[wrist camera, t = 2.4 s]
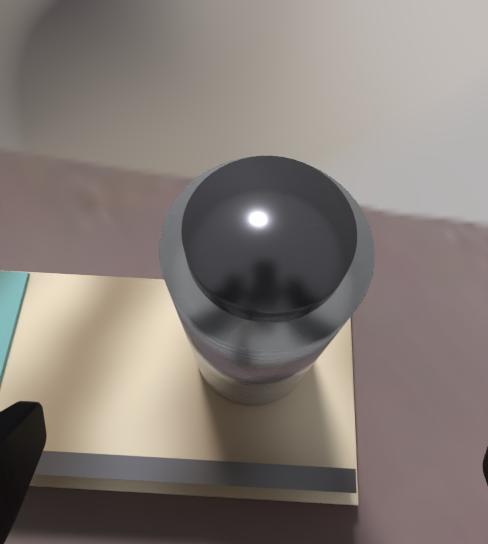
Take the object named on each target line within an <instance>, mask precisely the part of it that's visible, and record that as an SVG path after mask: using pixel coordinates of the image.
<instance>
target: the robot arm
mask: <svg viewBox="0 0 488 544" xmlns="http://www.w3.org/2000/svg"><path fill="white" fill-rule="evenodd" d="M46 439H47V432H46V425H45V419H44V412H43V407H42V405H41V403H39V402H36V401H18V402H16V403H14V404H12V405H11V406H9V407H7V408H6V409H4V410H2V411H0V544H4V542H5V540H6V538H7V536H8V534H9V532H10V530H11V528H12V526H13V524H14V522H15V520H16V518H17V515H18V513H19V511H20V508H21V506H22V503H23V501H24V498H25V496H26V493H27V490H28V488H29V485H30V483H31V480H32V478H33V475H34V473H35V470H36V468H37V465H38V463H39V460H40V458H41V455H42V452H43V450H44V447H45V444H46ZM483 473H484V476H485V479H486V482H487V485H488V447H487V450H486V453H485V456H484V459H483Z"/></svg>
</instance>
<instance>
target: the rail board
mask: <svg viewBox="0 0 488 544" xmlns="http://www.w3.org/2000/svg"><path fill="white" fill-rule="evenodd" d="M18 401H36V402H39V403H41V405H42V407H43V412H44V419H45V425H46V432H47V439H46V444H45V447H44V450H43V452H42V455H41V458H40V460H39V463H38V465H37V468H36V470H35V473H34V475H33V478H32V480H31V483H30V485H29V486H40V487H57V488H74V489H90V490H107V491H124V492H141V493H158V494H175V495H192V496H209V497H226V498H243V499H260V500H277V501H294V502H311V503H328V504H345V505H358V483H357V459H356V436H355V412H354V389H353V366H352V342H351V319H350V318H349V320H348V321H347V322H346V323H345V325H344V326H343V327H342V329H341V330H340V331H339V332H338V334H337V335H336V336H335V337H334V339H333V340H332V341H331V342H330V344H329V345H328V346H327V347H326V349H325V350H324V351H323V352H322V354H321V355H320V356H319V358H318V359H317V360H316V361H315V363H314V364H313V365H312V366H311V368H310V369H309V370H308V371H307V373H306V374H305V375H304V376H303V378H302V379H301V380H300V381H299V383H298V384H297V385H296V386H295V387H294V388H293V390H292V391H291V392H289V393H288V394H287V395H286V396H284V397H282V398H281V399H279V400H277V401H275V402H273V403H269V404H266V405H260V406H246V405H240V404H236V403H233V402H231V401H228V400H226V399H225V398H223V397H221V396H220V395H219V394H217V393H216V392H215V391H214V390H213V389H212V388H211V387H210V386H209V385H208V384H207V382H206V381H205V379H204V378H203V376H202V374H201V372H200V369H199V367H198V364H197V362H196V359H195V357H194V354H193V352H192V349H191V347H190V344H189V341H188V339H187V336H186V334H185V331H184V329H183V326H182V324H181V321H180V319H179V316H178V314H177V311H176V309H175V306H174V304H173V301H172V298H171V296H170V293H169V291H168V288H167V286H166V283H165V281H164V280H161V279H143V278H125V277H107V276H90V275H72V274H54V273H36V272H18V271H0V411H2V410H4V409H6V408H7V407H9V406H11V405H12V404H14V403H16V402H18Z"/></svg>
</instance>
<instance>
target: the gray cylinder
mask: <svg viewBox="0 0 488 544" xmlns="http://www.w3.org/2000/svg"><path fill="white" fill-rule="evenodd" d="M159 256H160V266H161V270H162V275H163V278H164V281H165V283H166V286H167V288H168V291H169V293H170V296H171V298H172V301H173V304H174V306H175V309H176V311H177V314H178V316H179V319H180V321H181V324H182V326H183V329H184V331H185V334H186V336H187V339H188V341H189V344H190V347H191V349H192V352H193V354H194V357H195V359H196V362H197V364H198V367H199V369H200V372H201V374H202V376H203V378H204V379H205V381H206V382H207V384H208V385H209V386H210V387H211V388H212V389H213V390H214V391H215V392H216V393H217V394H219V395H220V396H221V397H223V398H225V399H226V400H228V401H231V402H233V403H236V404H240V405H246V406H260V405H266V404H269V403H273V402H275V401H277V400H279V399H281V398H282V397H284V396H286V395H287V394H288V393H289V392H291V391H292V390H293V388H294V387H295V386H296V385H297V384H298V383H299V381H300V380H301V379H302V378H303V376H304V375H305V374H306V373H307V371H308V370H309V369H310V368H311V366H312V365H313V364H314V363H315V361H316V360H317V359H318V358H319V356H320V355H321V354H322V352H323V351H324V350H325V349H326V347H327V346H328V345H329V344H330V342H331V341H332V340H333V339H334V337H335V336H336V335H337V334H338V332H339V331H340V330H341V329H342V327H343V326H344V325H345V323H346V322H347V321H348V320H349V318H350V317H351V316H352V315H353V313H354V312H355V311H356V309H357V308H358V306H359V305H360V303H361V302H362V301H363V299H364V297H365V295H366V292H367V290H368V288H369V285H370V282H371V279H372V276H373V269H374V243H373V237H372V233H371V230H370V227H369V224H368V222H367V219H366V217H365V215H364V213H363V211H362V210H361V208H360V206H359V205H358V203H357V202H356V201H355V200H354V198H353V197H352V196H351V195H350V193H349V192H348V191H347V190H346V189H345V188H343V186H341V184H339V183H338V182H337V181H335V180H334V179H333V178H331V177H330V176H328V175H327V174H325V173H323V172H322V171H320V170H318V169H316V168H314V167H312V166H309V165H307V164H305V163H303V162H299V161H296V160H293V159H289V158H284V157H278V156H256V157H249V158H242V159H238V160H234V161H230V162H227V163H224V164H221V165H219V166H217V167H215V168H212V169H210V170H209V171H207V172H205V173H204V174H202V175H200V176H199V177H198V178H196V179H195V180H194V181H193V182H191V183H190V184H189V185H188V186H187V187H186V188H185V189H184V190H183V191H182V192H181V193H180V194H179V196H178V197H177V199H176V200H175V201H174V203H173V204H172V206H171V208H170V210H169V212H168V213H167V216H166V218H165V221H164V224H163V227H162V231H161V236H160V245H159Z"/></svg>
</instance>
